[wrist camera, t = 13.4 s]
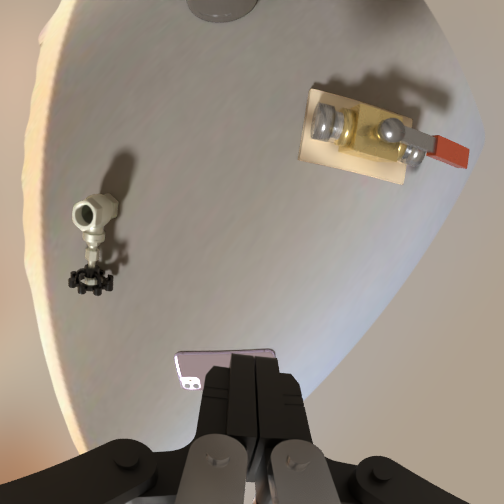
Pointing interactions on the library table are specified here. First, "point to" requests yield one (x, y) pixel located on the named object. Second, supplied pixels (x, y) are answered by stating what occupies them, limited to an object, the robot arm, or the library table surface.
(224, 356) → the mobile phone
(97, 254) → the valve
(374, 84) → the library table surface
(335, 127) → the valve body
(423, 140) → the valve lever
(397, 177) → the pipe board
